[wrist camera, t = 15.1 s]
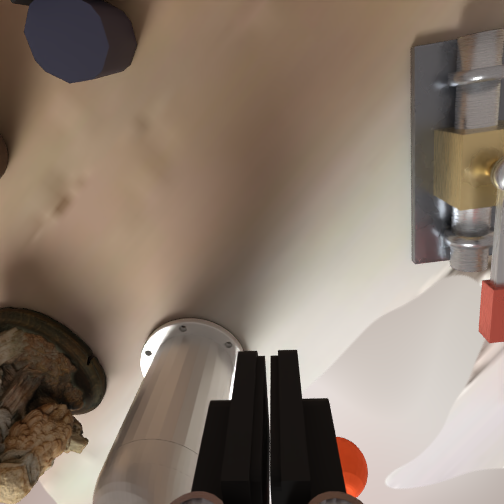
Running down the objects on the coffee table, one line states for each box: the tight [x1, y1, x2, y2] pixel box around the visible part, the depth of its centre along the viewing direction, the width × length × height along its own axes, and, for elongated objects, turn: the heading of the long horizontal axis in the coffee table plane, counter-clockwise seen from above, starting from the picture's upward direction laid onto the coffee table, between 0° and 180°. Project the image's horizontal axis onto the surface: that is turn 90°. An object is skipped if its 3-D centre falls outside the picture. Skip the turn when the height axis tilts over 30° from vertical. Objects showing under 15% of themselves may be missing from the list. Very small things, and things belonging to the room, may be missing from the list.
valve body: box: [411, 29, 504, 272], centre depth 32 cm, size 20×9×8 cm, turn 9°
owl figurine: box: [0, 307, 106, 504], centre depth 40 cm, size 18×12×17 cm, turn 44°
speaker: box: [11, 0, 137, 83], centre depth 29 cm, size 8×6×10 cm
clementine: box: [336, 437, 368, 498], centre depth 47 cm, size 8×7×7 cm
